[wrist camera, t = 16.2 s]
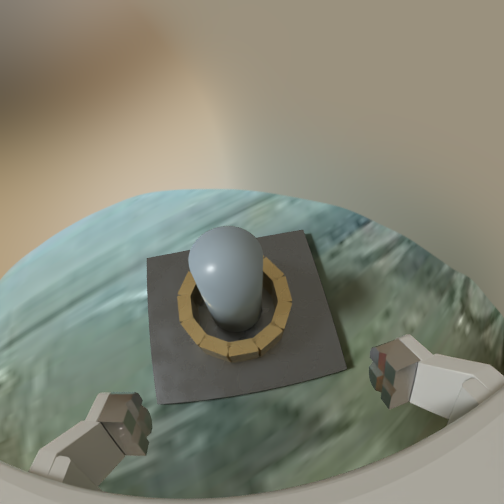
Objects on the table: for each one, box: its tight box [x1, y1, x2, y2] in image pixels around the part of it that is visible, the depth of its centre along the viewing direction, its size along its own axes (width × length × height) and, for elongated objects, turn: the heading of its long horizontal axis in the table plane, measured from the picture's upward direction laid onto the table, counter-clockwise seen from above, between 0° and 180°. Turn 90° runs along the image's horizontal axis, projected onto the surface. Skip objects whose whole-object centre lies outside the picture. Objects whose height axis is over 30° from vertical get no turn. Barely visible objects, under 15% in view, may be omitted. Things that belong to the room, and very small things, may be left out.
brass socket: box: [177, 256, 292, 363], centre depth 26 cm, size 10×10×4 cm
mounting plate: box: [147, 230, 347, 404], centre depth 28 cm, size 18×16×1 cm
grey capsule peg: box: [188, 226, 263, 332], centre depth 23 cm, size 5×5×10 cm
